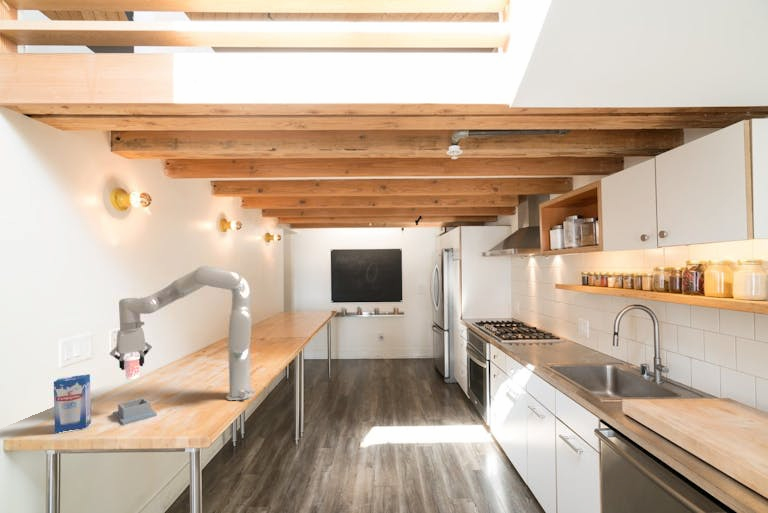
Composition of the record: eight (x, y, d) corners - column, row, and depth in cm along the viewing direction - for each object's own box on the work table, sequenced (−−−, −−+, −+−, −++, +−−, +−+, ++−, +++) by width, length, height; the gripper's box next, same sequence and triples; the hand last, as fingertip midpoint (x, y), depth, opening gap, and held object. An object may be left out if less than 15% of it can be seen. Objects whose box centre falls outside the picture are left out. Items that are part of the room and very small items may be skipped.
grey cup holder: (156, 415, 160) (156, 403, 160) (122, 425, 151) (122, 412, 151) (145, 405, 172) (144, 394, 172) (113, 414, 163) (112, 402, 164)
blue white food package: (54, 434, 145) (53, 382, 146) (60, 428, 151) (59, 377, 151) (86, 428, 149) (85, 378, 150) (91, 422, 155) (90, 374, 155)
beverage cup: (130, 376, 167) (129, 344, 167) (144, 375, 167) (142, 343, 167) (120, 380, 161) (119, 347, 161) (134, 379, 161) (132, 347, 161)
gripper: (150, 322, 173) (152, 361, 173) (104, 328, 161) (106, 371, 160) (155, 324, 168) (156, 364, 167) (107, 330, 155) (109, 374, 155)
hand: (132, 367), depth 164 cm, fingers closed on beverage cup, 6 cm apart
